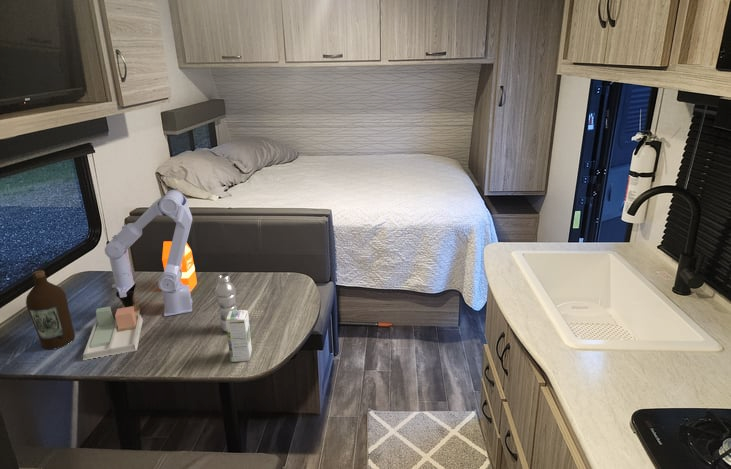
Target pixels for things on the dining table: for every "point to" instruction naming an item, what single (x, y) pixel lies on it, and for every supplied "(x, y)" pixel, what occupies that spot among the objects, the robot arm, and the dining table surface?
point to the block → (125, 317)
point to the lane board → (115, 342)
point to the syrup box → (238, 335)
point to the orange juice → (186, 267)
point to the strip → (103, 327)
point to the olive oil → (49, 312)
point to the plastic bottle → (225, 297)
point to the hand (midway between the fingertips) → (130, 306)
